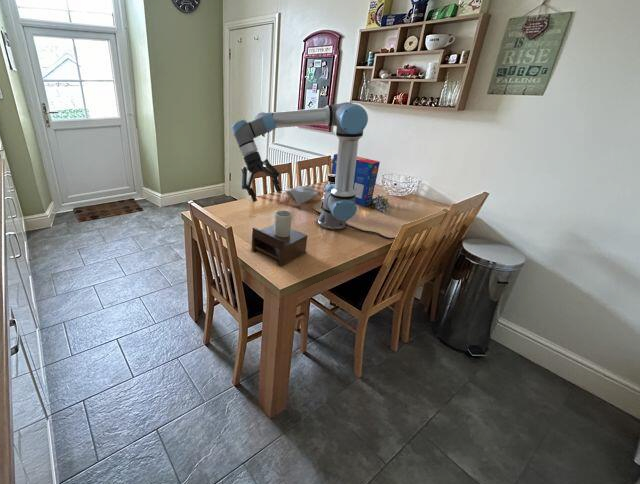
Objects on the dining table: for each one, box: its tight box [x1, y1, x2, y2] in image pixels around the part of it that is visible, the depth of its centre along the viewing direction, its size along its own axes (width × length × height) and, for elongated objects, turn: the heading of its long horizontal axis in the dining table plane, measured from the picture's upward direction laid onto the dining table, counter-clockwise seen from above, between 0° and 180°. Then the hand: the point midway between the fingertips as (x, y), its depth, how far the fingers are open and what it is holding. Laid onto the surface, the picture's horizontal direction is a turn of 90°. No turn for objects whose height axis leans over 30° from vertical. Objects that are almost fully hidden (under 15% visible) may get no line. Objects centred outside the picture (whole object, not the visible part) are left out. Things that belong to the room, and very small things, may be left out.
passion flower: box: [370, 193, 390, 213], centre depth 201 cm, size 11×11×12 cm
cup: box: [273, 209, 293, 237], centre depth 149 cm, size 8×8×10 cm
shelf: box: [251, 223, 308, 267], centre depth 151 cm, size 18×18×12 cm
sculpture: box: [280, 185, 322, 208], centre depth 213 cm, size 25×19×10 cm
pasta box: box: [330, 153, 381, 208], centre depth 213 cm, size 28×8×28 cm, turn 39°
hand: (267, 196), depth 153 cm, fingers open, 13 cm apart
